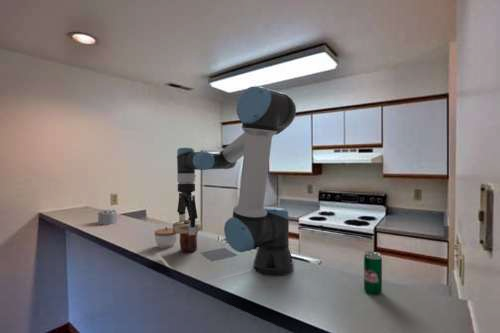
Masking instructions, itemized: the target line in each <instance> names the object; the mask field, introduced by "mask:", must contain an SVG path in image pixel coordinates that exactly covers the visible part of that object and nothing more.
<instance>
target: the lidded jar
mask: <svg viewBox="0 0 500 333" xmlns="http://www.w3.org/2000/svg"><path fill="white" fill-rule="evenodd" d="M178 237H179V233H174V232H173V227H167V226H166V227H165V228H164V227H163V228H159V229H156V230H154V240H155V243H156V245H157V246H158V247H159V248H160V249H168V248H173V247H174V246H175V244H176V243H177V240H178Z"/></svg>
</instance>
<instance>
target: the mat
mask: <svg viewBox="0 0 500 333" xmlns="http://www.w3.org/2000/svg"><path fill="white" fill-rule="evenodd" d="M200 254H201V255H202V256H203V257H205V258H206V259H207V260H209V261H210V262H214V261H215V262H216V261H219V260H224V259H228V258H233V257H236V256H238V254H236V253H235V252H233V251H231V250H229V249H228V248H226V247H222V248H217V249H216V248H215V249H212V250H207V251H203V252H200Z"/></svg>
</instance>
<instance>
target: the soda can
mask: <svg viewBox="0 0 500 333" xmlns="http://www.w3.org/2000/svg"><path fill="white" fill-rule="evenodd" d="M364 253H365V254H364V255H363V289H364V291H365V293H366V294H368V295H372V296H379V295H381V294H382V292H383V257H382V255H381V253H380V252H377V251H370V250H369V251H368V250H367V251H365V252H364Z"/></svg>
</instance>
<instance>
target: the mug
mask: <svg viewBox="0 0 500 333" xmlns="http://www.w3.org/2000/svg"><path fill="white" fill-rule="evenodd" d="M198 232H199V231H198ZM198 232H195V235H189V233H187V234H179V246H180V248H179V249H180V252H182V253H183V254H188V253H189V254H190V253H194V252H197V250H198Z"/></svg>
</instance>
